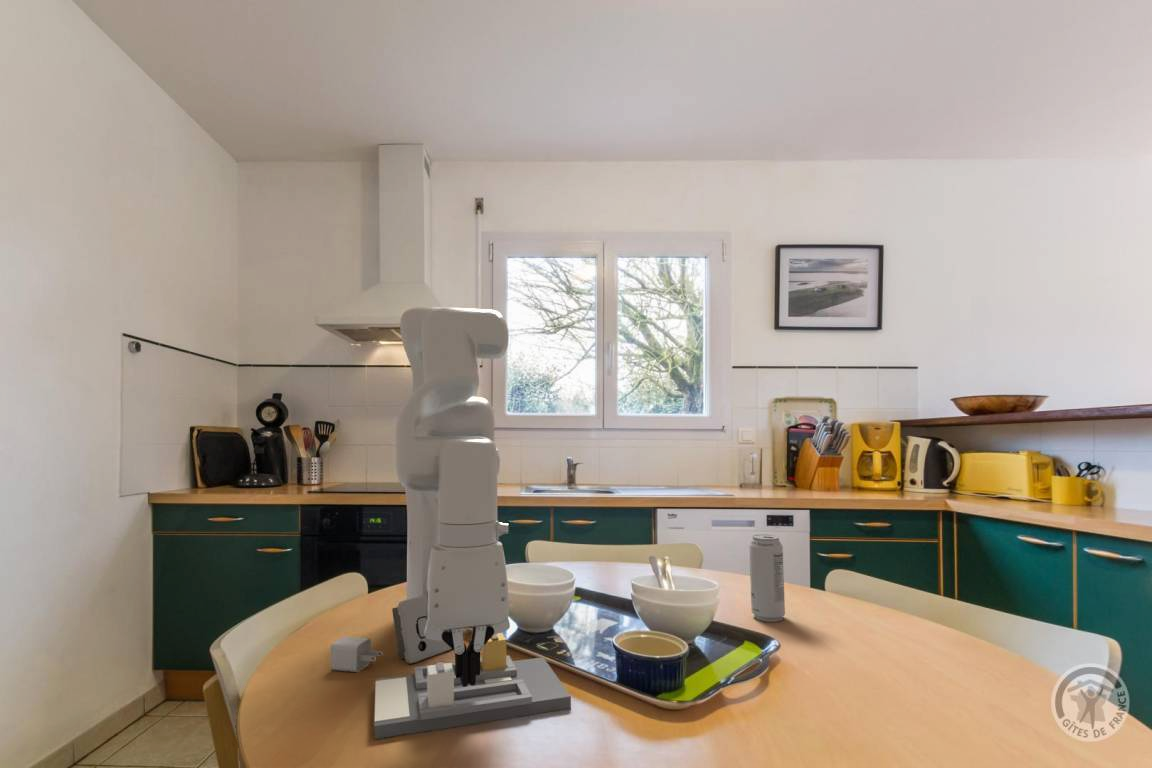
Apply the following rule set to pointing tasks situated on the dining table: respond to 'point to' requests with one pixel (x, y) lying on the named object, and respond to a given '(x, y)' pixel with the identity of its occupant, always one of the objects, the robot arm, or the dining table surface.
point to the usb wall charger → (352, 654)
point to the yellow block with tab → (494, 653)
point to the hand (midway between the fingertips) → (467, 681)
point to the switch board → (468, 698)
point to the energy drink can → (767, 578)
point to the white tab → (440, 685)
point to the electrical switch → (414, 631)
